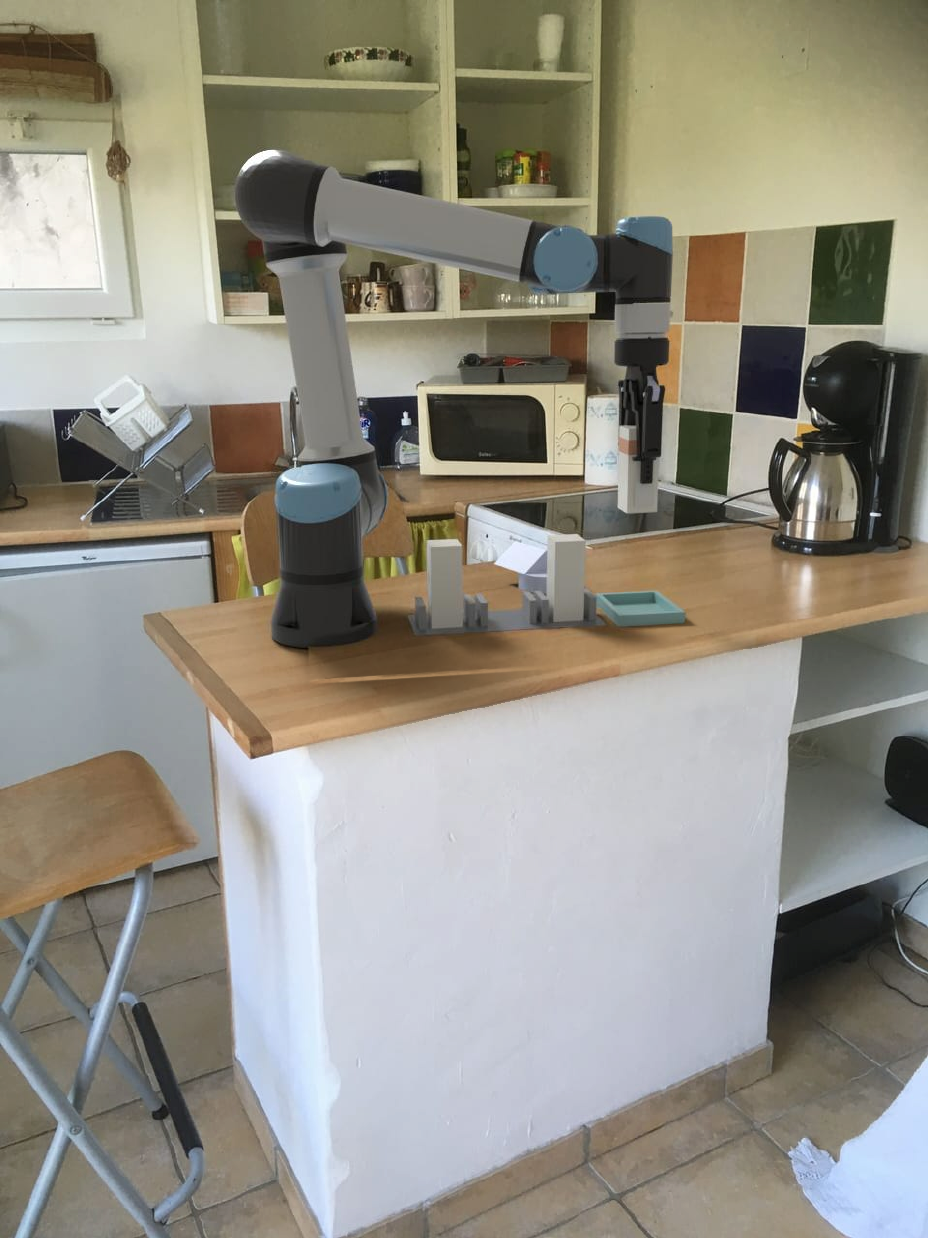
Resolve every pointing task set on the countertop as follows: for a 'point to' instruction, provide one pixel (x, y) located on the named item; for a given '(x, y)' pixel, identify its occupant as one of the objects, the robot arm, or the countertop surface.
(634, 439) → the block
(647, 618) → the tray
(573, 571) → the block
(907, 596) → the countertop surface
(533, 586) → the wedge on round base
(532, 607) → the holder
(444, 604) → the block
